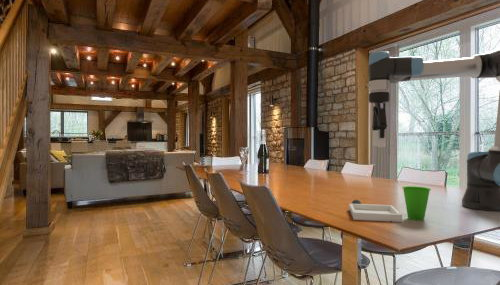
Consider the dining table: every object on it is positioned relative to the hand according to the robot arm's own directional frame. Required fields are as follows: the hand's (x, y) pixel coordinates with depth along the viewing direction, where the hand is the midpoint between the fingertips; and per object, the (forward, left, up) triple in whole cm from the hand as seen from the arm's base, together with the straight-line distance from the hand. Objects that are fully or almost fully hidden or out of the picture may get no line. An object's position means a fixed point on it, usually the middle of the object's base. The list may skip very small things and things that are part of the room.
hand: (379, 146), depth 127 cm
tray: (+3, +8, -25) cm, 27 cm away
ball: (+8, -3, -25) cm, 27 cm away
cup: (-11, +10, -26) cm, 29 cm away
